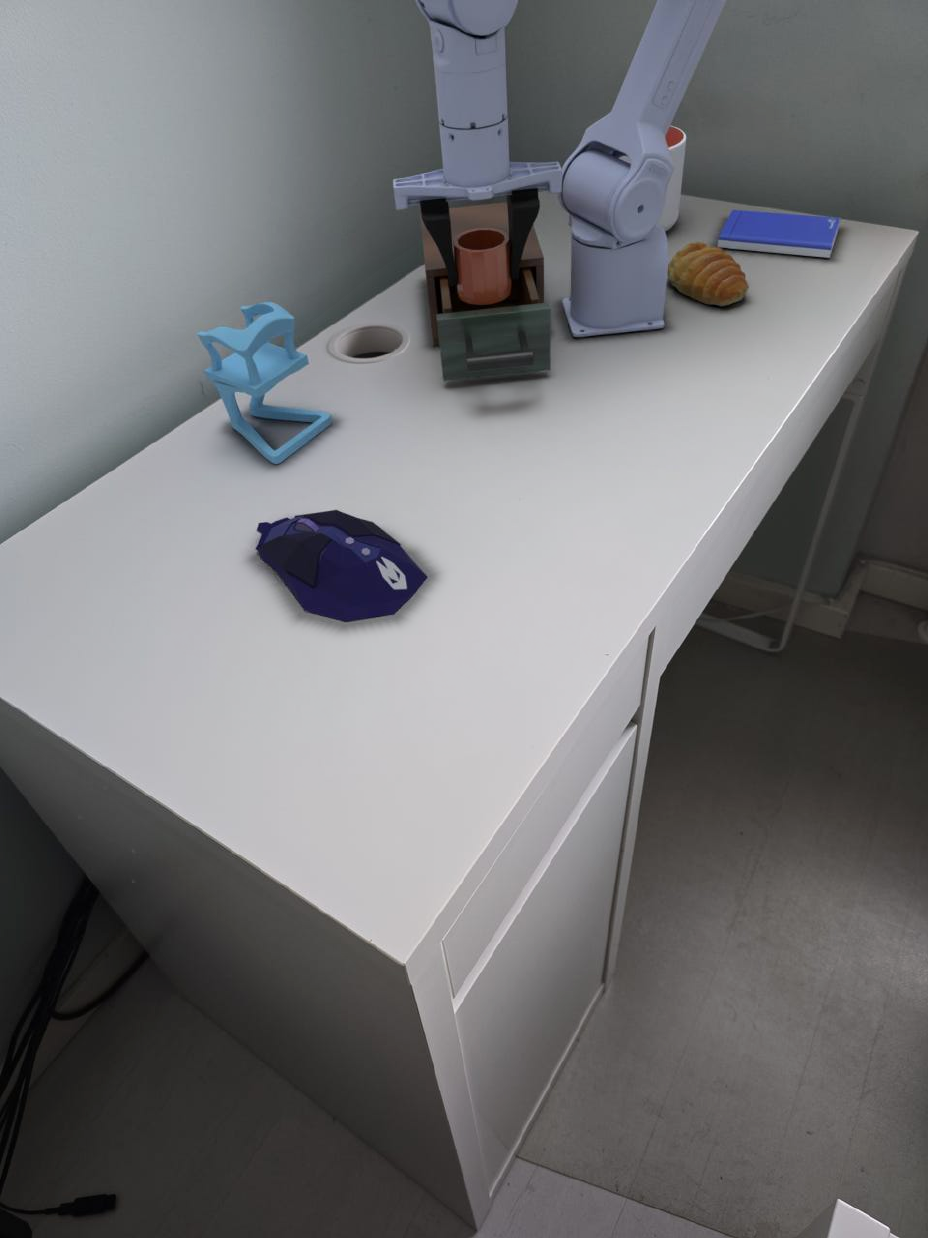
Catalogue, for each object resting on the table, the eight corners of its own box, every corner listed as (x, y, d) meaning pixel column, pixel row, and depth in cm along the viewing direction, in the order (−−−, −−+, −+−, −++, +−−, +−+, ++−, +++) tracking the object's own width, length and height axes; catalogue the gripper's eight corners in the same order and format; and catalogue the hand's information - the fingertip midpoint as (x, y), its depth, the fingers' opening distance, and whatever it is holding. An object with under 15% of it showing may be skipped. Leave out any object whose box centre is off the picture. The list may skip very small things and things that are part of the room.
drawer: (558, 397, 81) (558, 334, 76) (446, 409, 81) (439, 346, 76) (532, 304, 93) (531, 245, 89) (436, 314, 93) (430, 256, 89)
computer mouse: (372, 640, 62) (363, 600, 59) (220, 574, 68) (205, 535, 65) (442, 562, 67) (437, 522, 65) (295, 507, 74) (285, 468, 71)
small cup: (508, 277, 85) (505, 224, 81) (514, 302, 81) (512, 248, 77) (455, 282, 85) (451, 230, 81) (459, 307, 81) (455, 254, 77)
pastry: (763, 299, 92) (769, 263, 89) (710, 317, 91) (714, 281, 88) (708, 266, 98) (712, 232, 96) (658, 282, 97) (660, 248, 94)
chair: (270, 399, 86) (239, 281, 77) (334, 422, 82) (308, 301, 73) (213, 439, 82) (173, 318, 73) (277, 465, 78) (243, 342, 69)
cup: (674, 207, 110) (683, 120, 103) (680, 241, 103) (689, 150, 96) (594, 210, 111) (597, 124, 104) (595, 243, 105) (598, 154, 97)
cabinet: (544, 334, 91) (543, 257, 85) (433, 345, 91) (425, 269, 85) (527, 272, 101) (525, 199, 95) (427, 283, 101) (419, 211, 95)
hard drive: (841, 215, 101) (733, 207, 105) (832, 245, 96) (718, 235, 100) (838, 229, 102) (731, 220, 106) (829, 259, 97) (717, 248, 101)
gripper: (386, 143, 69) (407, 305, 79) (568, 124, 69) (566, 288, 79) (385, 115, 74) (405, 271, 84) (555, 97, 74) (555, 255, 84)
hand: (483, 277), depth 82 cm, fingers closed on small cup, 5 cm apart
